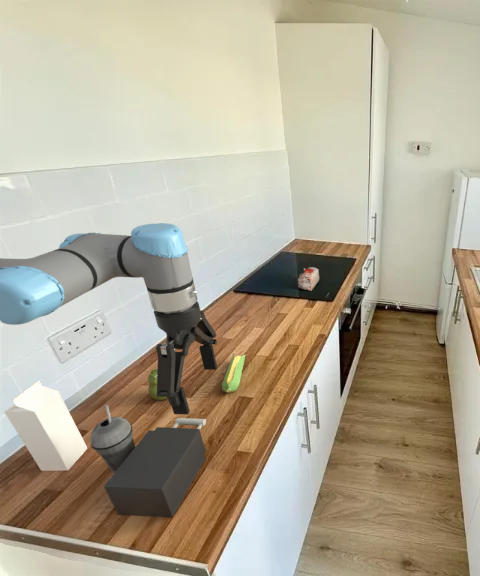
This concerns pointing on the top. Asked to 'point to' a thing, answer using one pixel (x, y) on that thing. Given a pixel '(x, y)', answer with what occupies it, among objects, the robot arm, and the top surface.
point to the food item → (308, 279)
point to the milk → (46, 428)
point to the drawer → (187, 422)
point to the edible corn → (233, 374)
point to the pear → (154, 385)
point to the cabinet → (156, 474)
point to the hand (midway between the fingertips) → (197, 389)
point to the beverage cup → (113, 440)
